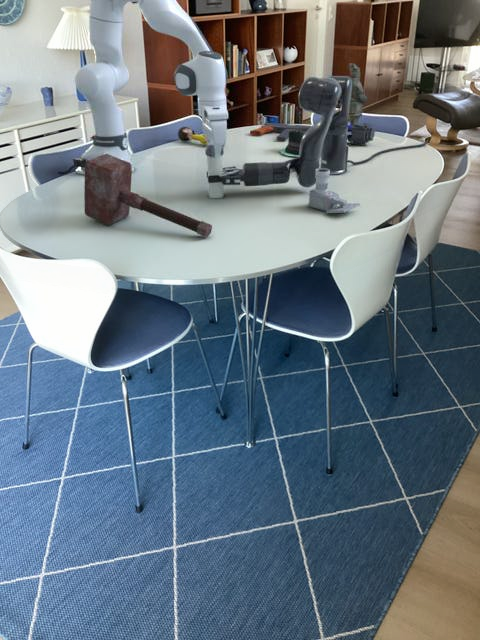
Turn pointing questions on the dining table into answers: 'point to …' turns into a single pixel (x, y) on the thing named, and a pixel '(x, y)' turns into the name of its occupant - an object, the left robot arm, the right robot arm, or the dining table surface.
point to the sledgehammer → (124, 196)
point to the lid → (212, 150)
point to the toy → (360, 133)
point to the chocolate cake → (294, 142)
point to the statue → (356, 95)
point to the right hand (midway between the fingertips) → (207, 177)
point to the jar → (215, 169)
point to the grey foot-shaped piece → (327, 195)
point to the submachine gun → (277, 129)
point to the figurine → (191, 135)
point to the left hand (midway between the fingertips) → (214, 154)
